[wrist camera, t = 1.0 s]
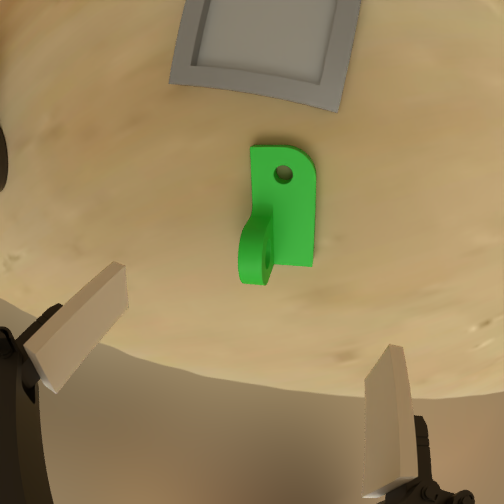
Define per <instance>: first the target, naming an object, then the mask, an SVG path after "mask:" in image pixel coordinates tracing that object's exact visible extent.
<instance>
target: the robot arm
mask: <svg viewBox="0 0 504 504" xmlns="http://www.w3.org/2000/svg"><path fill="white" fill-rule="evenodd" d="M6 178H7V151H6V145H5V140H4V137H3V134H2V131H1V129H0V192H1V191H2V190H3V188H4V186H5V182H6ZM128 308H129V304H128V294H127V282H126V268H125V265H122V264H119V263H117V262H114V261H113V262H112V263H111V264H110V265H108V266H107V267H106V268H105V269H104V270H103V271H101V272H100V273H99V274H98V275H97V276H96V277H95V278H93V279H92V280H91V281H90V282H89V283H88V284H87V285H85V286H84V287H83V288H82V289H81V290H80V291H79V292H78V293H77V294H75V295H74V296H73V297H72V298H71V299H70V300H69V301H68V302H67V303H66V304H65V305H64V306H63V305H61V304H59V303H58V304H56V305H54V306H52V307H50V308H48V309H47V310H46V311H45V312H44V313H43V314H42V316H40V317H39V318H38V319H37V320H36V322H34V323H33V324H31V325H30V327H28V328H27V329H26V330H25V331H24V332H23V333H22V334H21V335H20V336H19V337H18V338H17V339H16V340H15V339H14V337H13V335H12V333H11V331H10V330H9V329H8V328H6V327H0V504H53V499H52V495H51V491H50V486H49V481H48V477H47V471H46V465H45V459H44V452H43V444H42V435H41V425H40V410H39V387H38V380H39V379H40V378H41V380H42V382H43V383H44V385H45V386H46V387H47V388H49V389H50V390H51V391H53V392H54V393H56V394H57V393H58V392H59V390H60V389H61V388H62V386H63V385H64V384H65V383H66V381H67V380H68V379H69V377H70V376H71V375H72V374H73V373H74V371H75V370H76V369H77V368H78V366H79V365H80V364H81V363H82V362H83V360H84V359H85V358H86V357H87V355H88V354H89V353H90V352H91V351H92V349H93V348H94V347H95V346H96V345H97V344H98V342H99V341H100V340H101V339H102V338H103V336H104V335H105V334H106V333H107V332H108V331H109V329H110V328H111V327H112V326H113V325H114V324H115V323H116V321H117V320H118V319H119V318H120V317H121V316H122V314H123V313H124V312H125V311H126V310H127V309H128ZM385 494H386V497H385V500H384V501H382V502H379V503H377V504H475V500H474V496H473V494H472V493H471V492H470V491H468V490H463V491H460V492H458V493H456V494H454V493H450V492H447V491H443V490H441V489H440V487H439V485H438V484H437V482H435V481H433V479H432V474H431V458H430V448H429V439H428V429H427V425H426V423H425V421H424V419H423V417H422V416H415V415H414V414H413V407H412V399H411V392H410V385H409V379H408V373H407V367H406V361H405V356H404V351H403V347H400V346H396V345H391V344H389V345H388V347H387V348H386V350H385V351H384V353H383V354H382V356H381V357H380V359H379V360H378V362H377V363H376V364H375V366H374V367H373V369H372V370H371V371H370V373H369V374H368V376H367V377H366V378H365V453H364V473H363V486H362V498H378V497H381V496H382V495H385Z"/></svg>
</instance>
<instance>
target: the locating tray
mask: <svg viewBox="0 0 504 504" xmlns="http://www.w3.org/2000/svg"><path fill="white" fill-rule="evenodd" d="M360 4H361V0H186V2H185V6H184V10H183V14H182V18H181V22H180V27H179V31H178V36H177V41H176V46H175V51H174V56H173V61H172V67H171V72H170V78H169V84H177V85H189V86H199V87H209V88H217V89H225V90H232V91H239V92H245V93H251V94H257V95H262V96H268V97H273V98H278V99H283V100H287V101H292V102H296V103H300V104H305V105H309V106H313V107H317V108H321V109H324V110H328V111H332V112H335V113H338V109H339V105H340V100H341V96H342V92H343V87H344V83H345V79H346V74H347V69H348V65H349V60H350V55H351V51H352V46H353V41H354V36H355V31H356V26H357V20H358V15H359V9H360Z"/></svg>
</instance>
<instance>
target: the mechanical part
mask: <svg viewBox="0 0 504 504" xmlns="http://www.w3.org/2000/svg"><path fill="white" fill-rule="evenodd" d="M250 159H251V181H252V214H251V217H250V218H249V220H248V222H247V223H246V225H245V226H244V228H243V230H242V234H241V238H240V243H239V251H238V272H239V277H240V280H241V282H242V283H245V284H255V285H266V284H267V283H268V280H269V277H270V274H271V271H272V268H273V265H274V264H280V265H293V266H307V267H312V264H313V251H314V232H315V208H316V169H315V166H314V163H313V161H312V160H311V158H310V157H309V156H308V155H307V154H306V153H305V152H304V151H303V150H301V149H299V148H297V147H295V146H291V145H253V146H251V147H250ZM281 165H284V166H287V167H289V168H290V169H291V170H292V172H293V177H292V178H291V179H289V180H283V179H281V178H280V177H279V176H278V175H277V172H276V170H277V167H278V166H281Z"/></svg>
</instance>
